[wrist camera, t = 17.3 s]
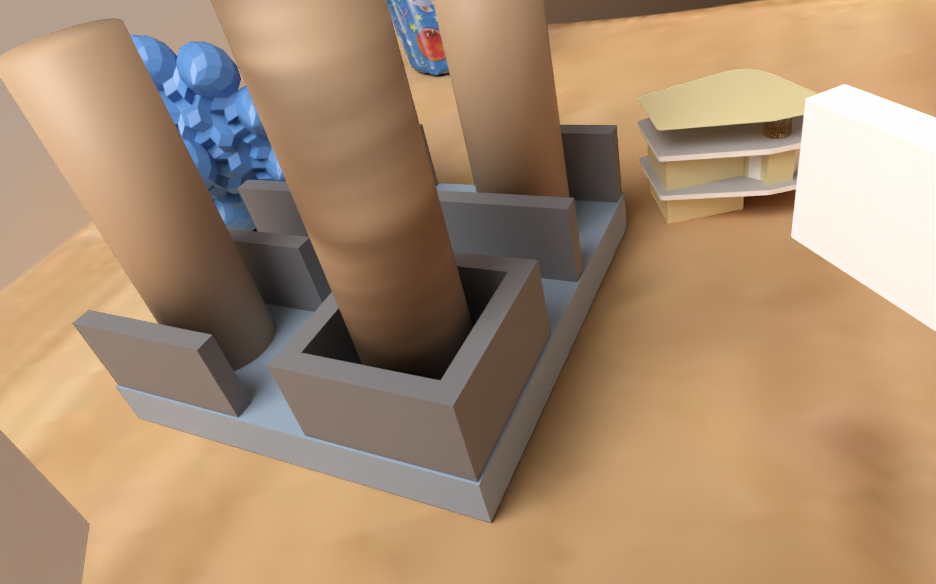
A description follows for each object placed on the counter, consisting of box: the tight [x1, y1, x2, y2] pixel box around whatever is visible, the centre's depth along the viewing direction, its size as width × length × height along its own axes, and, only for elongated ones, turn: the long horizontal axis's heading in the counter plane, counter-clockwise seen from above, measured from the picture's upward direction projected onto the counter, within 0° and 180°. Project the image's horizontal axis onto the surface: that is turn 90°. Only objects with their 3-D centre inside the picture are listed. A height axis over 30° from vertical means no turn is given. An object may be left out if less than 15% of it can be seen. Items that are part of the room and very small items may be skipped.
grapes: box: [131, 35, 286, 231], centre depth 37 cm, size 12×7×12 cm, turn 81°
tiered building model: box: [636, 69, 818, 224], centre depth 32 cm, size 10×9×6 cm
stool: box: [0, 0, 627, 523], centre depth 27 cm, size 17×17×15 cm
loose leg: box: [211, 0, 473, 381], centre depth 20 cm, size 4×4×16 cm
